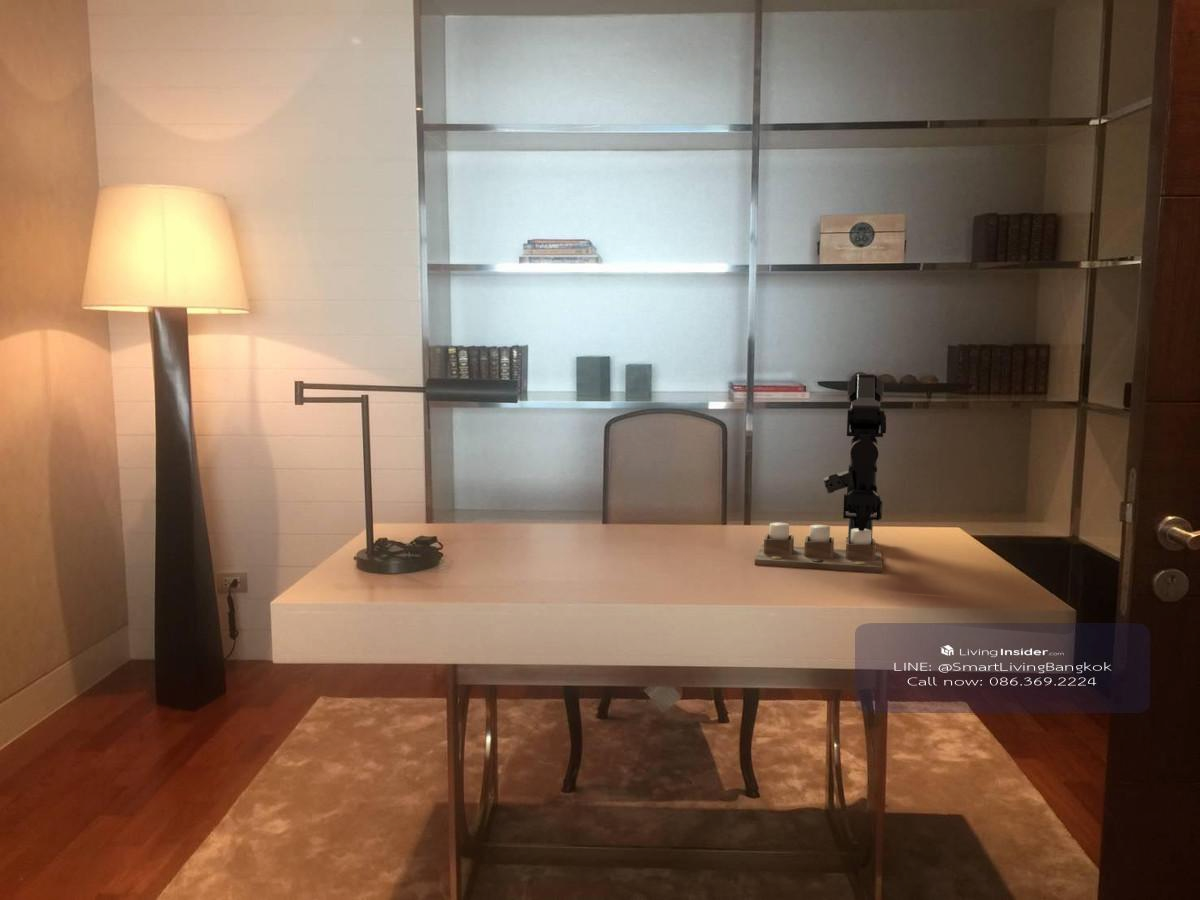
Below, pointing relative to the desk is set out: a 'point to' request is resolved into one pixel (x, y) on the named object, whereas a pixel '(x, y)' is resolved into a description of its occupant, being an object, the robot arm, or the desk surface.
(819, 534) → the button
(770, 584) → the desk surface
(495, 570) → the desk surface
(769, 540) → the board
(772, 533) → the button
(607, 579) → the desk surface
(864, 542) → the button
